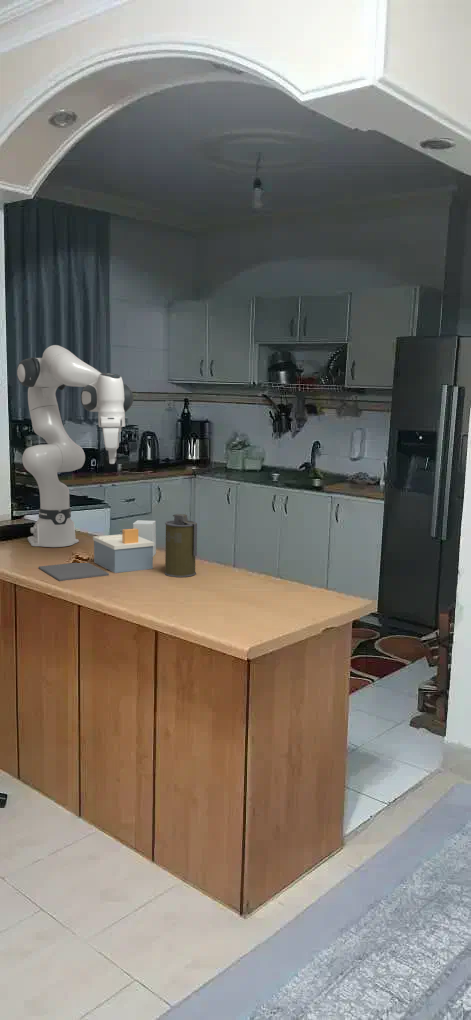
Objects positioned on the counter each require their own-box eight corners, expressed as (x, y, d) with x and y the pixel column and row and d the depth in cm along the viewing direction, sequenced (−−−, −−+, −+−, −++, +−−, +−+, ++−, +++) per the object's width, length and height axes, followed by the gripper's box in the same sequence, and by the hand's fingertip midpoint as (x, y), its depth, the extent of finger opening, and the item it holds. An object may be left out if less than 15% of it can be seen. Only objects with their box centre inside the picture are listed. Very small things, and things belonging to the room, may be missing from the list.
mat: (38, 568, 268) (38, 566, 268) (86, 563, 277) (86, 561, 277) (59, 580, 251) (58, 579, 251) (108, 575, 260) (108, 573, 260)
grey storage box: (94, 562, 278) (94, 540, 277) (130, 558, 286) (130, 536, 284) (114, 573, 263) (114, 549, 262) (152, 568, 271) (152, 545, 269)
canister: (158, 574, 262) (159, 515, 259) (175, 568, 271) (175, 511, 268) (186, 579, 257) (187, 518, 254) (202, 572, 266) (203, 514, 263)
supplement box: (156, 553, 295) (156, 520, 293) (152, 557, 288) (152, 523, 286) (136, 553, 296) (137, 519, 294) (132, 557, 289) (132, 522, 287)
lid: (92, 542, 277) (92, 524, 276) (131, 539, 285) (131, 521, 284) (114, 552, 262) (114, 532, 261) (154, 548, 269) (154, 529, 268)
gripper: (104, 421, 276) (105, 461, 278) (100, 422, 256) (101, 464, 258) (122, 421, 277) (123, 460, 279) (120, 422, 257) (121, 464, 258)
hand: (112, 462), depth 268 cm, fingers open, 8 cm apart
